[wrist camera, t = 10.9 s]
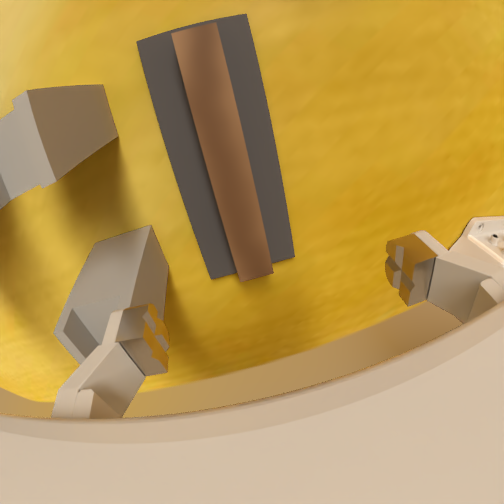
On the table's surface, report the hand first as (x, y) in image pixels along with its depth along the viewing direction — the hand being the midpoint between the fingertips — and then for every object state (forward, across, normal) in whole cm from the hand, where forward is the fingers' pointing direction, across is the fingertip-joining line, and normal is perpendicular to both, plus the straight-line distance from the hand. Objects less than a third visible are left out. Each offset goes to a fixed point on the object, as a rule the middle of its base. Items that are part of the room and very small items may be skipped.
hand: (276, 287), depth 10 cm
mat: (+18, -1, 0) cm, 18 cm away
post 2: (+18, -12, -7) cm, 23 cm away
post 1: (+18, -12, +7) cm, 23 cm away
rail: (+17, 0, 0) cm, 17 cm away
